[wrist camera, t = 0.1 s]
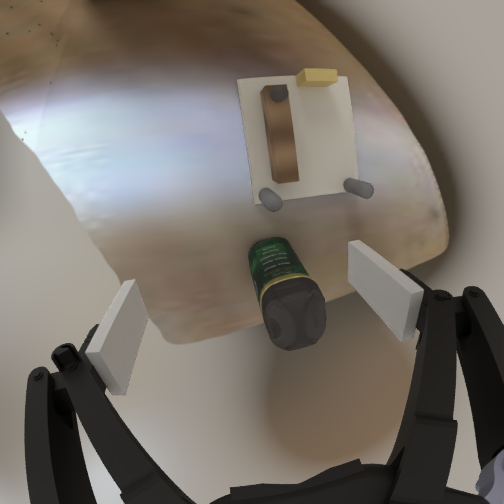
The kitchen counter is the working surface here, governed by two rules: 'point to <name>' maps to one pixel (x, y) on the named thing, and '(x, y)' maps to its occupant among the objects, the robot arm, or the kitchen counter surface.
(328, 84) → the white board with blocks
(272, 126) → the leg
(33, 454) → the robot arm
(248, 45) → the kitchen counter surface
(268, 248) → the coffee jar
